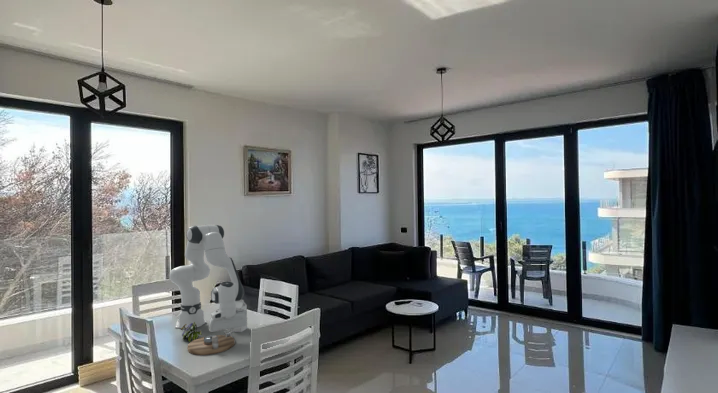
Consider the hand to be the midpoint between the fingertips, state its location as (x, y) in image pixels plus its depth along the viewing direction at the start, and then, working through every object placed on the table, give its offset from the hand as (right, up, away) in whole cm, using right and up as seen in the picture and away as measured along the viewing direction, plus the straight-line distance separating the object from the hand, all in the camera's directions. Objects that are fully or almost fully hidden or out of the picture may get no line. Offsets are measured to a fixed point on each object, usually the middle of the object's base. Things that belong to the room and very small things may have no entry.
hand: (228, 336), depth 225 cm
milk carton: (-1, -4, +22) cm, 23 cm away
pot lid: (-8, -2, -5) cm, 10 cm away
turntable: (-8, -4, -5) cm, 10 cm away
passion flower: (-24, -5, +9) cm, 26 cm away
